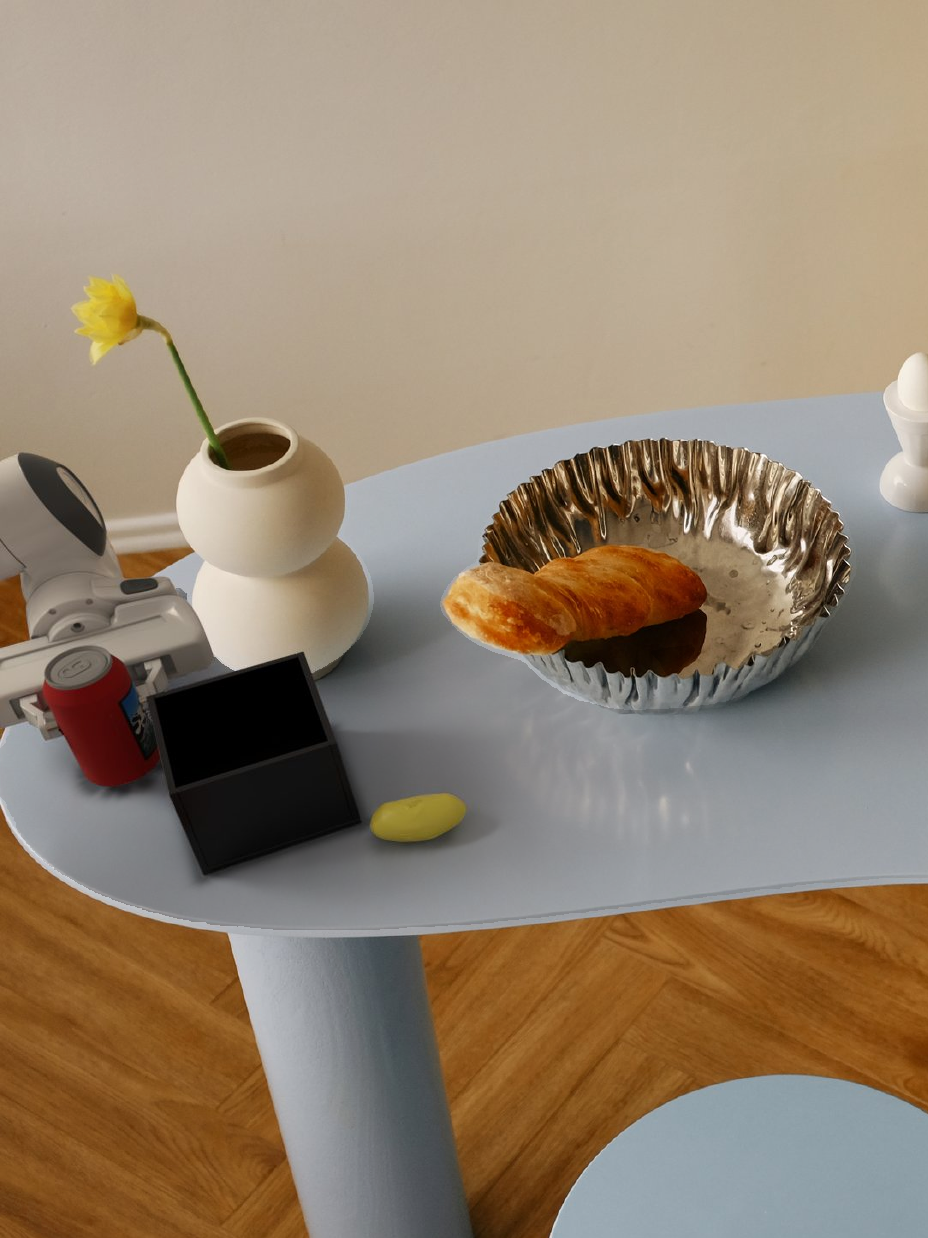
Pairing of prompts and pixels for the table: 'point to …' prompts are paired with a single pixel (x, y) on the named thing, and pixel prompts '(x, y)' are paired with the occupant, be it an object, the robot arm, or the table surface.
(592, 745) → the table surface
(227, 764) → the open black box
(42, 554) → the robot arm
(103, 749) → the beverage can
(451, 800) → the yellow oval lump
